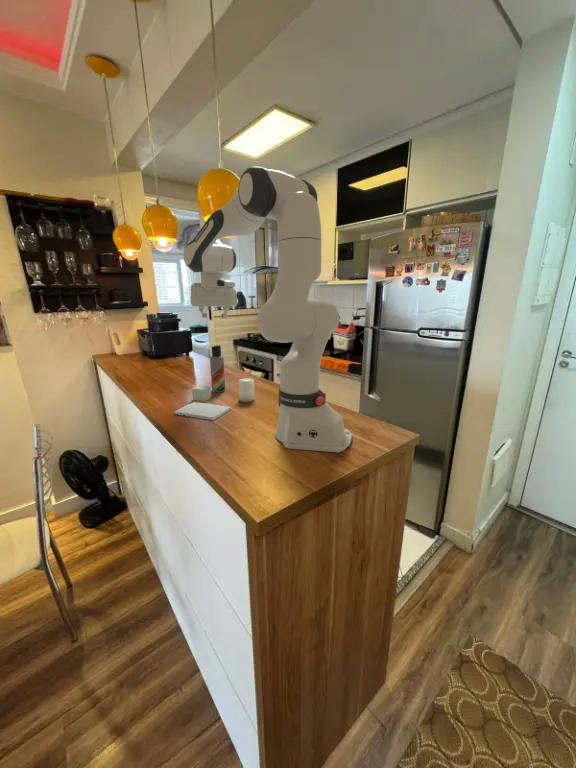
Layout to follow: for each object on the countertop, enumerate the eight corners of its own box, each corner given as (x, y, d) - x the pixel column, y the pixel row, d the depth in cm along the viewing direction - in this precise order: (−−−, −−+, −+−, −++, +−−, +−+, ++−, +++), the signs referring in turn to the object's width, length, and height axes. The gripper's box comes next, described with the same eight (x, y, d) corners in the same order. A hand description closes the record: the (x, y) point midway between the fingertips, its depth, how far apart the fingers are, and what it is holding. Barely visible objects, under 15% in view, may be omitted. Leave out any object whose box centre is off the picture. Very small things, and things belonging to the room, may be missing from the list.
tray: (230, 409, 112) (230, 406, 112) (213, 420, 102) (213, 417, 102) (194, 404, 118) (194, 401, 117) (174, 414, 108) (174, 411, 107)
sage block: (211, 398, 125) (210, 386, 124) (203, 401, 121) (202, 389, 119) (200, 396, 127) (199, 385, 125) (193, 400, 122) (192, 388, 121)
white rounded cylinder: (257, 398, 125) (256, 379, 123) (250, 402, 120) (249, 382, 118) (243, 396, 127) (243, 377, 125) (236, 400, 122) (235, 381, 120)
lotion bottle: (222, 393, 131) (219, 346, 126) (209, 392, 132) (206, 346, 127) (227, 389, 137) (225, 344, 131) (215, 388, 138) (212, 344, 132)
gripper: (185, 282, 123) (188, 317, 127) (230, 281, 116) (231, 319, 120) (195, 283, 129) (197, 316, 132) (238, 282, 122) (239, 318, 126)
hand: (214, 318), depth 126 cm, fingers open, 8 cm apart
